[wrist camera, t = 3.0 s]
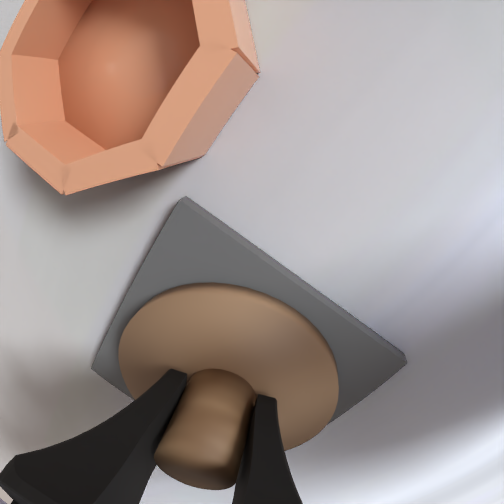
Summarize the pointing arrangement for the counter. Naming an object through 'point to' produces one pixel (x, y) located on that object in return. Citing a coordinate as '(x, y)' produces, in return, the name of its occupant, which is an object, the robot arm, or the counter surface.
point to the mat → (254, 277)
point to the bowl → (121, 84)
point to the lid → (227, 374)
